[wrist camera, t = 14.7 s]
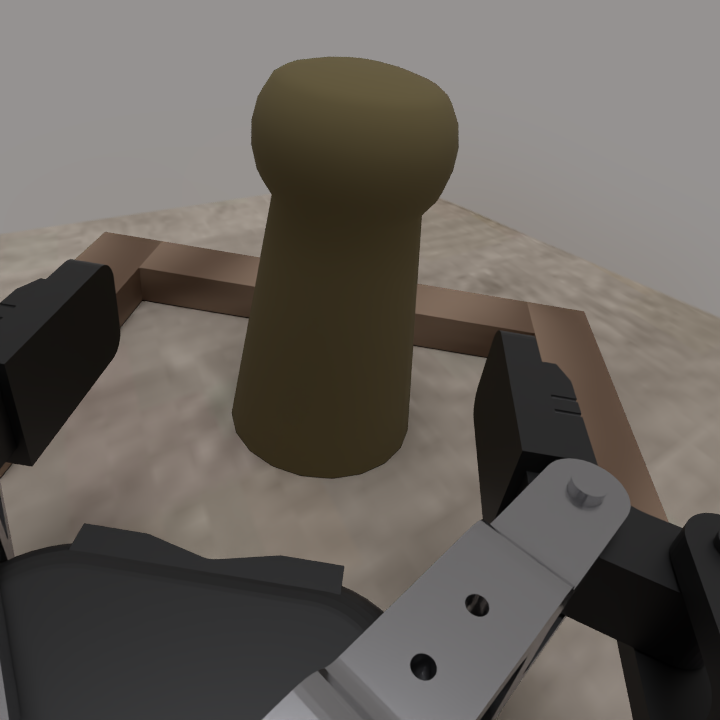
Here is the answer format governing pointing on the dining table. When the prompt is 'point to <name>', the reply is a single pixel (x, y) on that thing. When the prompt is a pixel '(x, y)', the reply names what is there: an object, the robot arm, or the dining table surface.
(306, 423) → the cork
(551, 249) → the dining table surface
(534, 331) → the walnut cradle
